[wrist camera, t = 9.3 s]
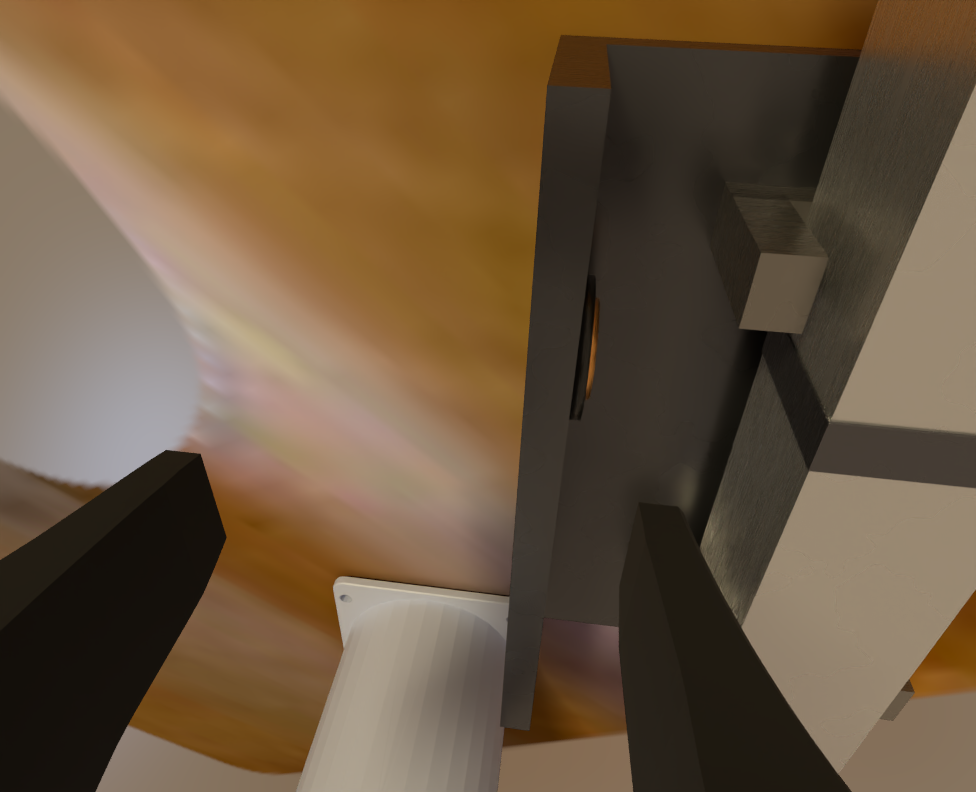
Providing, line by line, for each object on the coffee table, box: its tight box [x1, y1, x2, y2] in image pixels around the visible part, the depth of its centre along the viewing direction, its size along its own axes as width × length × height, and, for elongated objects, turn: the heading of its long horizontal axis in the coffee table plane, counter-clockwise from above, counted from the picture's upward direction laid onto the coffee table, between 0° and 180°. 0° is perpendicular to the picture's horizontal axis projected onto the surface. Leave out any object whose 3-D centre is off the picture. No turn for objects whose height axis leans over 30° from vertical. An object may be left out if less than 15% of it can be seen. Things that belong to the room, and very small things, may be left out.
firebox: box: [500, 35, 915, 731], centre depth 18 cm, size 20×15×6 cm
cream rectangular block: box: [699, 0, 976, 774], centre depth 16 cm, size 20×4×4 cm, turn 178°
